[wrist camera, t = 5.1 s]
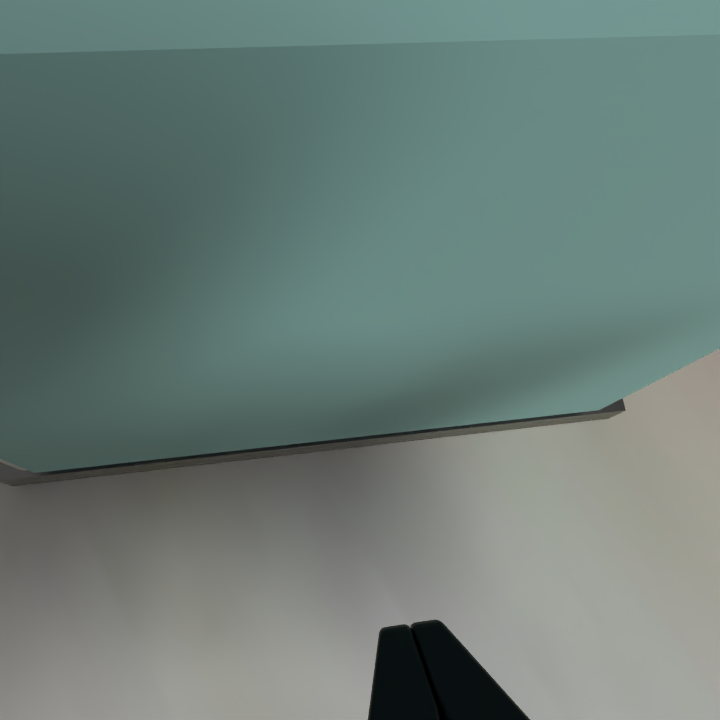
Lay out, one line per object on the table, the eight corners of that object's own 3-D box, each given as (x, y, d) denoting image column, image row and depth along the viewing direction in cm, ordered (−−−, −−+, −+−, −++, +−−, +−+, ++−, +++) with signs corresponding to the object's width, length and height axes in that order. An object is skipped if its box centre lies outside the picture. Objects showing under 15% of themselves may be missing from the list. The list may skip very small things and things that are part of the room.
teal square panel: (598, 410, 18) (1376, 11, 5) (12, 475, 16) (-1078, 75, 3) (589, 374, 18) (1306, -89, 5) (13, 433, 16) (-986, -91, 3)
